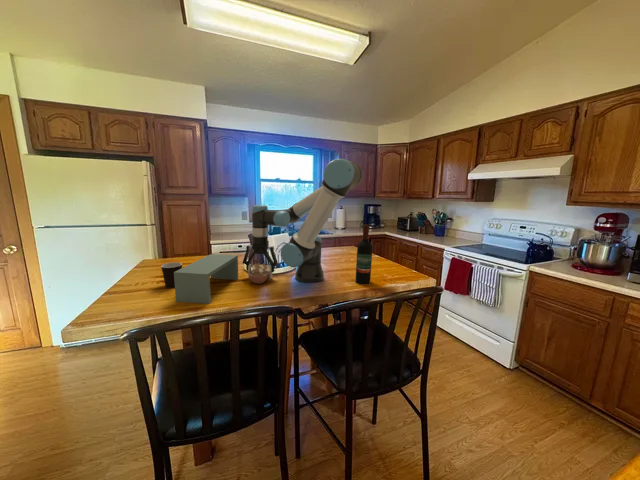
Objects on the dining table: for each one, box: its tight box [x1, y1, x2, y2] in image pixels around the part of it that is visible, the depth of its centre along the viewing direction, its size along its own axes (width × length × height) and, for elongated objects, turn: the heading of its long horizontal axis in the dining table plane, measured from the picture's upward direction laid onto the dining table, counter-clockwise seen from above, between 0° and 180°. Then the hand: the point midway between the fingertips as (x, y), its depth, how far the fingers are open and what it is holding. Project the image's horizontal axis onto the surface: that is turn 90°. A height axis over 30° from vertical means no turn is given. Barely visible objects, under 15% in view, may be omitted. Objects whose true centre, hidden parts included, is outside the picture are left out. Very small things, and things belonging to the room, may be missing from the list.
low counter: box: [174, 253, 239, 305], centre depth 124 cm, size 14×31×12 cm, turn 175°
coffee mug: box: [160, 262, 183, 289], centre depth 128 cm, size 12×9×10 cm
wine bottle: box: [354, 223, 374, 285], centre depth 137 cm, size 8×8×30 cm
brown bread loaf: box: [249, 263, 271, 285], centre depth 140 cm, size 23×10×5 cm, turn 8°
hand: (260, 277), depth 141 cm, fingers closed on brown bread loaf, 11 cm apart
